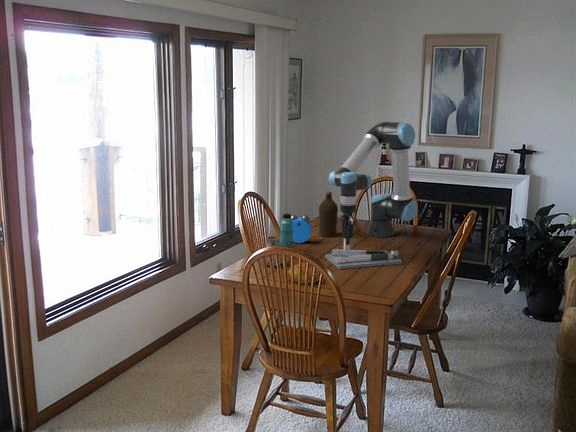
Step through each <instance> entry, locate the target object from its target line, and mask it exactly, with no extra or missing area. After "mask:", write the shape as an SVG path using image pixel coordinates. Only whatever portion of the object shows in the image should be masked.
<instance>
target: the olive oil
mask: <svg viewBox="0 0 576 432" xmlns="http://www.w3.org/2000/svg"><path fill="white" fill-rule="evenodd" d="M332 193H333V192H332V191H329V190H328V191H325V199H324V200H323V201H322V202H321V203H320V204H319V205H318V206H319V207H318V217H319V219H318V221H319V222H318V223H319V225H318V226H319V227H318V228H319V230H318V231H319V236H320V237H322V238H334V237H336V236H337V229H338V228H337V226H338V214H339V207H338V204H337V203H336V202H335V200H334V199H333V198H332Z"/></svg>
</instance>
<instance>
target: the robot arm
mask: <svg viewBox="0 0 576 432" xmlns="http://www.w3.org/2000/svg"><path fill="white" fill-rule="evenodd" d="M415 139H416V132H415V129H414V126H413V125H411V124H410V123H408V122H407V123H406V122H395V121H382V122H379V123H377V124H375V125H373V126H372V127H371V128H370V129H369V130H368V131H367V132H366V133H365V134H364V136H363V140H362V141H361V142H360V143H359V145H357V147H356V148H355V149H354V151H352V153H351V154H350V156H349V157H348V158H347V159H346V161H345V162H344V163H343V164H342V165H341V167H339V169H338V170H334V171H331V172H330V173H329V175H328V182H329V184H330V185H331V186H334V187H340V197H339V200H340V207H339V212H341V213H342V215H340V220H341V233H342V234H341V235H342V236H343V250H351V239H352V238H353V233H354V226H355V222H356V220H354V218H353V217H354V215H353V214H354V213H356V209H357V207H356V204H357V192H358V191H361V190H362V191H363V190H366V189H369V188H371V186H372V184H373V179H372V176H371V175H370V174H368V173H362V174H360V173H357V171H358V170H359V168H360V167H361V166H362V165H363V164H364V162H365V161H366V160H367V158H368V157H370V155H371V154H372V153H373V151H374V150H375V149H378V148H379V146H380V145H384V144H385V145H388V151H389V150H390V152H391V159H392V161H391V163H392V178H393V179H392V180H393V181H392V183H393V194H392V193H378V194H374V195H372V197H371V202H370V222H369V224H368V227H367V231H366V234H367V235H368V236H370V237H376V238H390V237H393V236H394V235H395V229H394V226H393V222H392V219H394V220H398V221H403V222H410V221H412V220H413V219H414V218H415V217H416V215H417V212H418V208H419V207H418V206H419V205H418V204H419V203H418V202H417V201H416V200H414V195H413V194H411V189H410V167H409V166H410V165H409V164H410V163H409V161H410V160H409V150H410V149H411V148H412V145H413V144H414V143H415V141H416V140H415Z"/></svg>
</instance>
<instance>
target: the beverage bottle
mask: <svg viewBox="0 0 576 432" xmlns="http://www.w3.org/2000/svg"><path fill="white" fill-rule="evenodd" d="M291 215H292V214H291V213H286V212H285V213H283V214H282V220H281V222H280V236H279V237H280V239H279V244H280V246H282V247H288V248H292V249H293V246H294V245H293V244H294V242H293V222H292V221H291V220H289V219H290V218H291Z"/></svg>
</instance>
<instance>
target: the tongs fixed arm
mask: <svg viewBox="0 0 576 432" xmlns="http://www.w3.org/2000/svg"><path fill="white" fill-rule="evenodd" d="M393 258H398V259H399V251H398V250H396V249H395V250H391V251H390V252H389V253H378V254H367V255H354V256H341V257H335V262H336V263H345V262H355V261H368V260H383V259H393Z"/></svg>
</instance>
